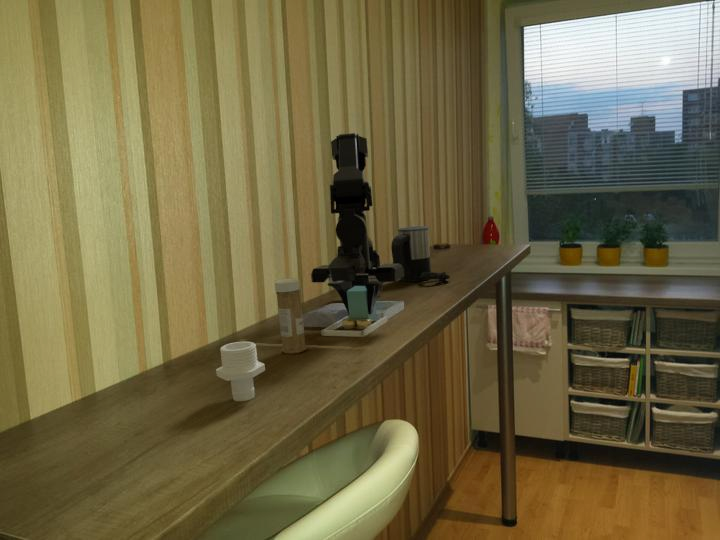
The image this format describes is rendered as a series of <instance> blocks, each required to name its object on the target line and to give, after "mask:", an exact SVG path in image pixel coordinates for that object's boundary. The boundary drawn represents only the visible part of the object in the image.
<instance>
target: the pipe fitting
mask: <svg viewBox="0 0 720 540" xmlns="http://www.w3.org/2000/svg"><path fill="white" fill-rule="evenodd" d="M219 351H220V356H221V357H220V359H221V365H222V366H220V367H218V368H216V369H215V372H216V377H218V378H220V379H222V380H224V381H226V382H227V381H228V382H229V381H230V386H231V394H232V398H233V400H234V401H235V402H247V401H249V400H252V399H254V398H255V387H254V377H256V376H258V375H259V374H262V373H263V372H265V371H266V366H265V363H263V362H261V361H259V360H258V353H257V352H258V351H257V345H256V344H255V342H252V341H237V342H235V341H233V342H231V343H227V344H224V345H222V346H221V347H220V349H219Z"/></svg>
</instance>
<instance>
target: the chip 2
mask: <svg viewBox="0 0 720 540" xmlns="http://www.w3.org/2000/svg"><path fill="white" fill-rule="evenodd" d="M356 323H357V327H356V329H358V330H364V329H366V328H367V327H369V326H370V325H372V322H371V318H360V319H357V320H356Z"/></svg>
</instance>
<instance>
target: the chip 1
mask: <svg viewBox="0 0 720 540" xmlns="http://www.w3.org/2000/svg"><path fill="white" fill-rule="evenodd" d="M356 320H357V318H345V319H343V320H342V322H343V325H342V329H344V330H351V329H352V330H353V329H357V323H356Z"/></svg>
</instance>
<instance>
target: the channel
mask: <svg viewBox="0 0 720 540" xmlns="http://www.w3.org/2000/svg"><path fill="white" fill-rule="evenodd" d="M375 308H376V317H377V318H376V319H375V320H373V321H372V322H377V321H378V320H380V319H381V318H383V317H387V320H388V319H390V318H392V317H393V316H395V315H397V314H398V313H399V312H401V311H403V310H405V301H404V300H384V301H383V300H376V303H375ZM349 317H350V316H349Z"/></svg>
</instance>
